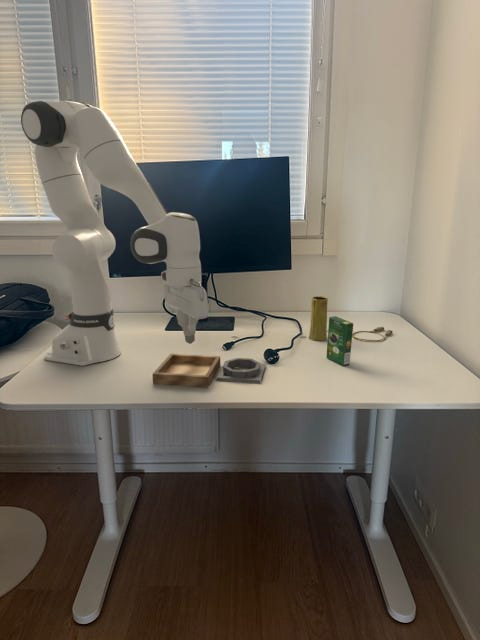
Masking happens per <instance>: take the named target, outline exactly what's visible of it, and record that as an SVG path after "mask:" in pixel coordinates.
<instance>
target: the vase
mask: <svg viewBox="0 0 480 640" xmlns="http://www.w3.org/2000/svg"><path fill="white" fill-rule="evenodd" d="M310 311H311V312H310V325H309V335H308V338H309V339H310V340H311V341H315V342H323V341H325V340H328V331H327V329H328V326H327V325H328V324H327V323H328V297H325V296H321V295H318V296H312V297H311V307H310Z"/></svg>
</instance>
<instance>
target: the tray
mask: <svg viewBox="0 0 480 640" xmlns="http://www.w3.org/2000/svg"><path fill="white" fill-rule="evenodd" d="M220 368H221V356H219V355H218V356H216V355H215V356H214V355H202V354H200V355H199V354H187V353H186V354H185V353H184V354H183V353H170V354H169V355H168V356H167V357H166V358H165V359H164V360H163V362H161V364H160V365H159V366H158V367H157V368H156V369H155V370H154V372H152V384H153V385H161V386H176V387H187V388H188V387H189V388H190V387H191V388H204V389H208V388H209V387H210V386H211V384H212V382H213V381H212V380H214V379H215V377H216V376H217V373H218V371H220Z"/></svg>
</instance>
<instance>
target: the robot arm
mask: <svg viewBox="0 0 480 640" xmlns="http://www.w3.org/2000/svg"><path fill="white" fill-rule="evenodd" d="M20 122H21V128H22V131H23V133H24V135H25V137H26V138H27V139H28V140H29V141H30V142H31V143H32V144H34V145H35V148H34V157H35V158H34V159H35V163H36V168H37V171H38V176H39V179H40V182H41V184H42V186H43V189H44V192H45V196H46V198H47V201H48V204H49V206H50V209H51V212H52V213H53V214H54V215H55V216H56V217H57V218H58V219H59V220H60V221H61V222H62V224H63V225H64V226H65V229H66V230H67V231H64V233H61V234H60V235H59V236H58V237H56V239H55V240H54V241H53V243H52V247H51V253H52V256H53V259H54V261H55V262H56V264H58V265H59V266H60V267H61V268H62V269H63V271H64V274H65V276H66V279H67V282H68V285H69V289H70V295H71V303H72V311H71V312H70V313H69V314H68V315H66V316H65V317H66V318H65V320H69V324H67V325H66V326H65V327H64V328H63V329H61V330H60V331H59V332H58V333H57V334H56V335H55V336H54V337H53V338H52V344H51V349H50V350H48V351H47V352H46V354H44V359H45V360H46V361H49V362H50V361H51V362H55V363H56V362H57V363H62V364H63V363H64V364H69V365H74V366H75V365H76V366H82V367H83V366H88V365H92V364H95V363H101V362H106V361H109V360H114V359H115V358H117V357H119V356H120V355H121V353H122V351H121V347H120V346H119V343H118V339H117V336H116V332H115V315H114V309H113V308H112V299H111V286H110V284H109V282H108V281H107V280H106V278H105V275H104V274H103V271H102V266H101V263H102V262H105V261H106V260H107V259H109V258H110V257H111V255H112V254H114V251H115V250H116V244H117V243H116V238H115V236H114V234H113V233H112V232H111V231H110V230H109V229H108V228H107V227H106V225H105V224H104V222H103V220H102V218H101V217H100V215H99V213H98V211H97V209H96V208H95V205H94V204H93V201H92V198H91V196H90V193H89V191H88V188H87V185H86V182H85V179H84V176H83V173H82V171H81V168H80V166H79V162H78V158H77V155H78V152H80V154H81V156H82V158H83V160H84V161H85V164H86V166H87V167H88V170H89V171H90V173H91V175H92V176H94V178H95V179H96V181H97V182H98V183H99V184H100V185H102V186H103V187H105V188H107V189H111V190H113V191H116V192H118V193H120V194H122V195H124V196H125V197H127V198H129V199H130V200H131V201H132V202H133V203H134V204H135V205H136V207H137V209H138V210H139V212H140V213H141V214H142V216H143V218H144V219H145V221H146V222H147V225H146V226H145V225H144V226H142V227H139V228H138V229H136V230H135V231H134V232H133V233H132V235H131V237H130V242H129V243H130V251H131V253H132V255H133V257H134V258H135V259H136V260H137V261H138V262H140V263H141V264H147V265H148V264H150V265H152V264H157V263H162V262H164V263H165V264H166V269H165V270H164V271H162V272H161V274H160V275H161V276H160V277H161V280H162V281H163V283H162V286H163V294H164V301H165V303H166V305H168V306H169V307H172V308H174V311H175V314H176V315H177V311H178V309H180V310H181V311H182V312H183V313H185V314H186V315H188V319H189V324H187V329H188V330H190V331H195V332H196V329H197V325H196V322H197V320H198V319H199V320H204V319H207V318H208V316H209V314H210V311H209V310H210V309H209V301H208V294H207V291H206V289H205V288H204V287H203V286H202V282H203V281H202V264H201V260H200V252H201V237H200V229H199V225H198V221H197V219H196V218H195V217H194V216H192V215H191V214H188V213H184V212H177V211H176V212H175V211H174V212H173V211H172V212H168V211H167V209H166V208H165V206H164V204H163V203H162V201H161V199H160V198H159V196H158V195H157V193H156V191H155V190H154V188H153V187H152V185H151V183H150V182H149V180H148V179H147V177H146V176H145V174H144V173H143V172H142V170H141V169H140V167H139V166H138V165H137V163H136V161H135V160H134V157H133V156H132V155H131V153H130V151H129V149H128V147H127V145H126V143H125V142H124V139H123V137H122V135H121V134H120V132H119V131H118V129H117V128H116V126H115V125H114V123H113V122H112V120H111V119H110V117H109V115H107V114H106V112H105V111H104V110H102V109H101V108H98V107H95V106H93V105H91V104H89V103H86V102H76V101H71V100H70V101H69V100H59V101H58V100H53V101H43V100H38V101H37V100H36V101H33V102H29V103H27V104H25V106H24V107H23V109H22V111H21V116H20ZM176 315H175V316H176ZM199 320H198V321H199ZM197 323H198V322H197ZM177 324H178V325H179V326H181V325H180V324H179V322H178V321H177Z"/></svg>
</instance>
